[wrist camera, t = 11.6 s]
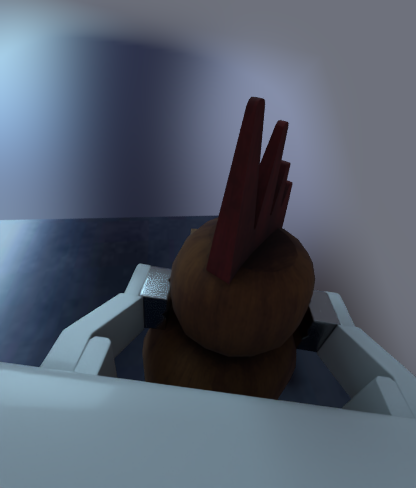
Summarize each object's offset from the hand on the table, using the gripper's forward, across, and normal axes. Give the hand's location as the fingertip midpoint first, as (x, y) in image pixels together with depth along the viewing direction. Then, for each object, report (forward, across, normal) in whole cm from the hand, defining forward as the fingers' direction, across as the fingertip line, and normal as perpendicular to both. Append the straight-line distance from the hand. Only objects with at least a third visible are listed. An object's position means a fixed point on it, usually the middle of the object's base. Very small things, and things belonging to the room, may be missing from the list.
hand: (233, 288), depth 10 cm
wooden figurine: (-1, 0, +8) cm, 8 cm away
